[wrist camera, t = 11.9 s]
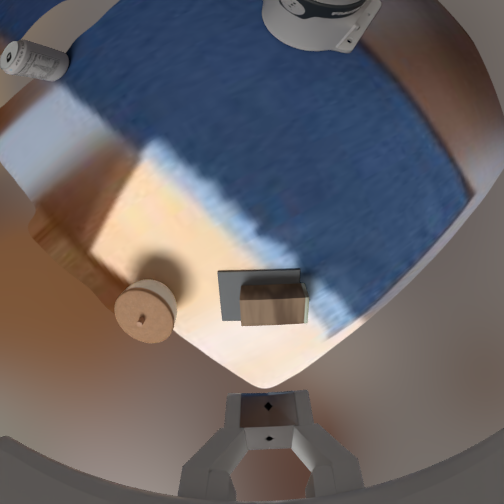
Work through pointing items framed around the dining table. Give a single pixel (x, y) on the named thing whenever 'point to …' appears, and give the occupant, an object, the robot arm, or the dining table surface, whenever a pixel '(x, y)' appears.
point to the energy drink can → (34, 61)
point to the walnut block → (274, 304)
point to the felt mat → (235, 279)
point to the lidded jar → (147, 311)
